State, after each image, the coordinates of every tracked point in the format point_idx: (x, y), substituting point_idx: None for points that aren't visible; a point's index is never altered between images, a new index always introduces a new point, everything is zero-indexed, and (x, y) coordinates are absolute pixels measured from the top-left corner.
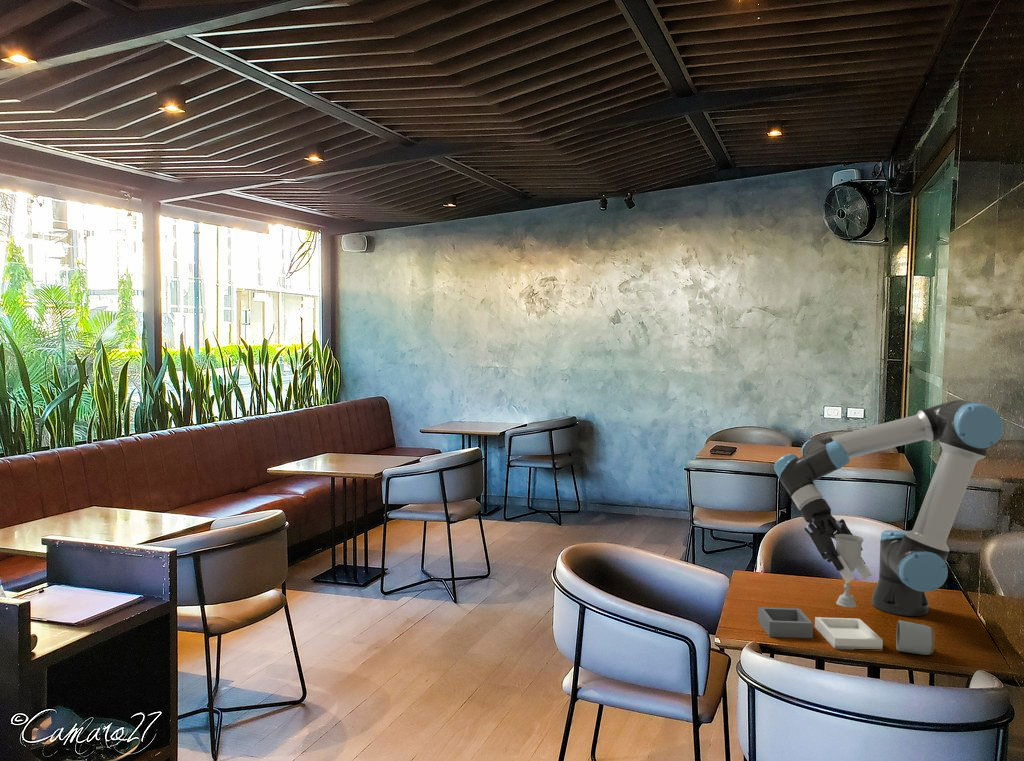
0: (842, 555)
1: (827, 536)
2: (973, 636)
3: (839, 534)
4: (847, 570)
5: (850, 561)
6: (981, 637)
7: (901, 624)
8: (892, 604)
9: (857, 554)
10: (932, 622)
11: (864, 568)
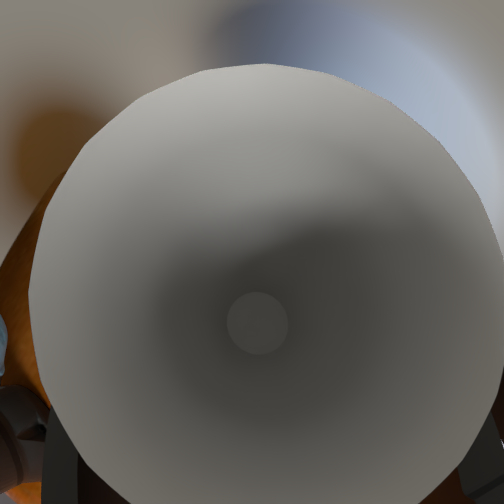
0: (358, 270)
1: (499, 441)
2: (9, 276)
3: None
4: None
5: (296, 241)
6: (5, 269)
7: None
8: (42, 423)
9: (252, 194)
10: (18, 353)
11: None
